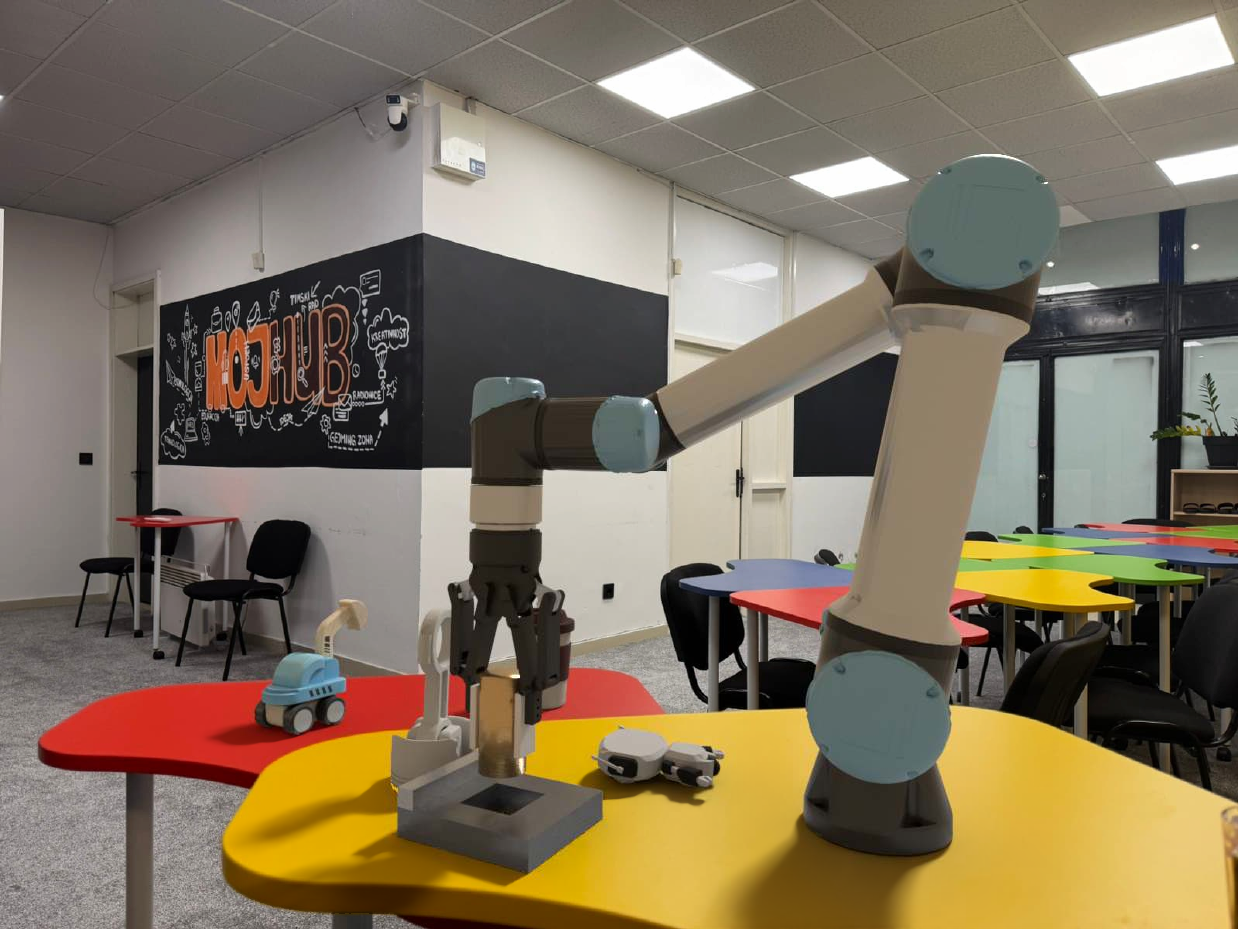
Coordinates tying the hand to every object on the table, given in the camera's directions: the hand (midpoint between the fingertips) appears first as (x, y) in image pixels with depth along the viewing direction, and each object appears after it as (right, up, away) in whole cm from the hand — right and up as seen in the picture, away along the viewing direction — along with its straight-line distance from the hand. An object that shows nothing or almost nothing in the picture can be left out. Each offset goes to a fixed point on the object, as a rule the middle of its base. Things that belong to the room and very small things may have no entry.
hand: (502, 749), depth 87 cm
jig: (0, -8, 0) cm, 8 cm away
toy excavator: (-33, -8, +37) cm, 50 cm away
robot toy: (+17, -9, +15) cm, 24 cm away
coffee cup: (0, -9, +46) cm, 47 cm away
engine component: (-10, -8, +13) cm, 18 cm away
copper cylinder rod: (0, -2, 0) cm, 2 cm away
